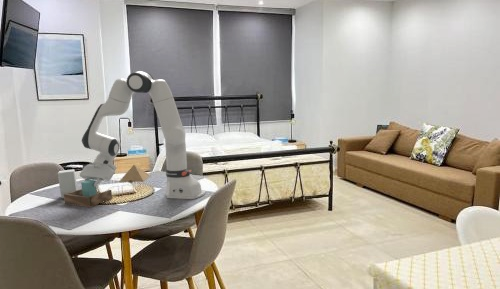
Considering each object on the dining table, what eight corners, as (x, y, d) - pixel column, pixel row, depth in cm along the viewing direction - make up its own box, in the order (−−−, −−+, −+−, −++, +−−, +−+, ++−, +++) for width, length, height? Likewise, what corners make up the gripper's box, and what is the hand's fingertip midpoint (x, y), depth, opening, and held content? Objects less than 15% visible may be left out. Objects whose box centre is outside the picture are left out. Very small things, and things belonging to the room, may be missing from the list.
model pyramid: (117, 182, 231) (116, 167, 229) (127, 176, 248) (125, 162, 246) (143, 182, 231) (142, 167, 229) (151, 175, 248) (150, 161, 246)
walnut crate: (88, 195, 202) (87, 187, 202) (112, 198, 195) (111, 189, 194) (64, 203, 189) (63, 194, 188) (89, 207, 182) (88, 197, 181)
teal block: (97, 196, 194) (95, 180, 192) (89, 199, 189) (88, 182, 188) (90, 195, 196) (88, 179, 194) (83, 198, 191) (81, 182, 190)
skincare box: (78, 194, 206) (75, 168, 204) (77, 197, 200) (74, 170, 198) (61, 196, 203) (59, 170, 201) (60, 198, 198) (57, 172, 195)
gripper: (84, 160, 201) (71, 181, 194) (112, 161, 193) (99, 184, 185) (92, 166, 206) (79, 187, 198) (119, 168, 197) (107, 190, 190)
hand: (89, 185), depth 192 cm, fingers closed on teal block, 5 cm apart
